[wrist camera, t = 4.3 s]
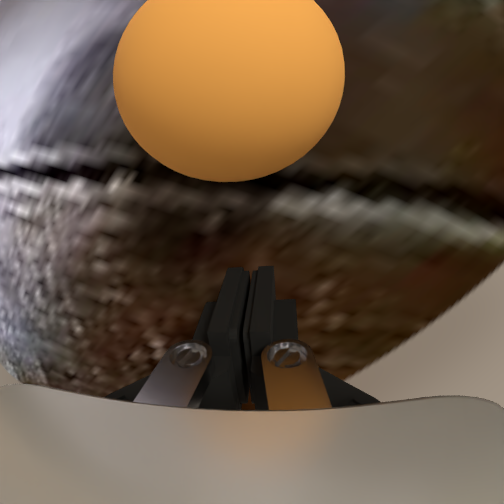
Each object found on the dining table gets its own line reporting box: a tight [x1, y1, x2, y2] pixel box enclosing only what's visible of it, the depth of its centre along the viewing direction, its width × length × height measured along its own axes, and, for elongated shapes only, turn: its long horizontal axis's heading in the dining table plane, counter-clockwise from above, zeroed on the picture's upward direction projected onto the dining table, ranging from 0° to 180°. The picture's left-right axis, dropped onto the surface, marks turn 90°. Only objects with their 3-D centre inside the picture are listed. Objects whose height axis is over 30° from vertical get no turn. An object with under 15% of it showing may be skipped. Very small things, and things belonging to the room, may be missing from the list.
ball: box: [113, 0, 345, 182], centre depth 7 cm, size 6×6×6 cm
